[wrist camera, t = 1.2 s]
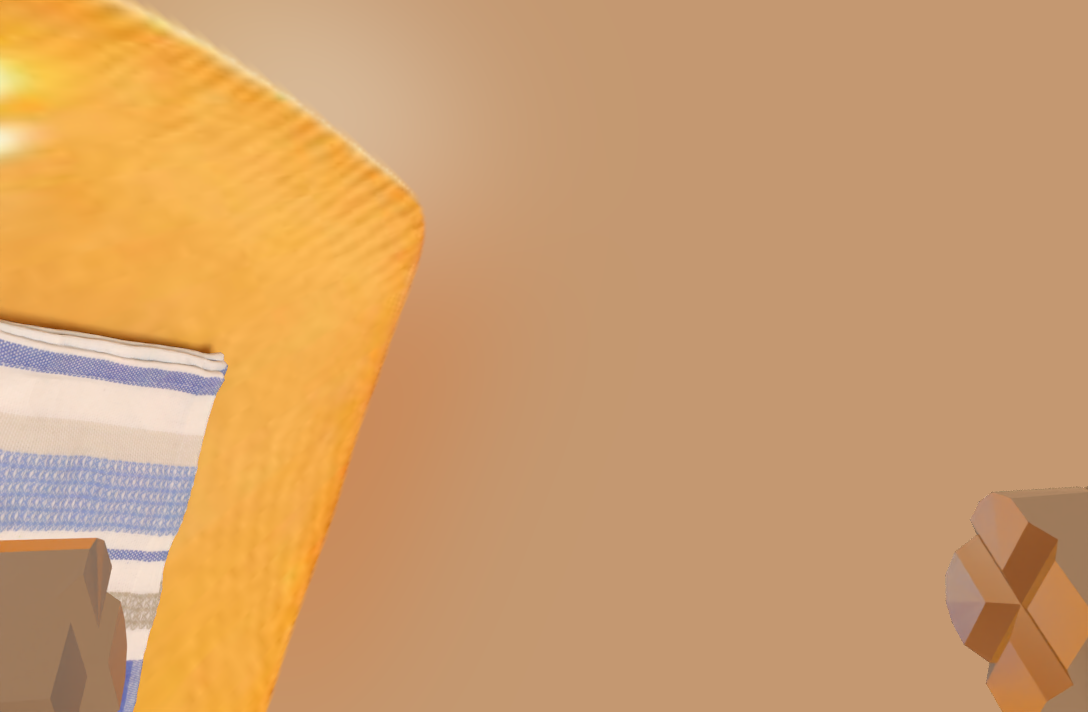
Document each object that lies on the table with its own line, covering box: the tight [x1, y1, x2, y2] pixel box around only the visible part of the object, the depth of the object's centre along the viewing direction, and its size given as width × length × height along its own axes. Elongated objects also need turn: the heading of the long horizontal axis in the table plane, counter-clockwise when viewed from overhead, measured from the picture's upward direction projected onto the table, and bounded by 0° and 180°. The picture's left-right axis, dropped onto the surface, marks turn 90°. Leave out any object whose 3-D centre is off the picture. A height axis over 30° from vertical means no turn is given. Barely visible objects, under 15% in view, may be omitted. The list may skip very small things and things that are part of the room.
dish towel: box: [0, 319, 228, 712], centre depth 55 cm, size 17×24×3 cm
